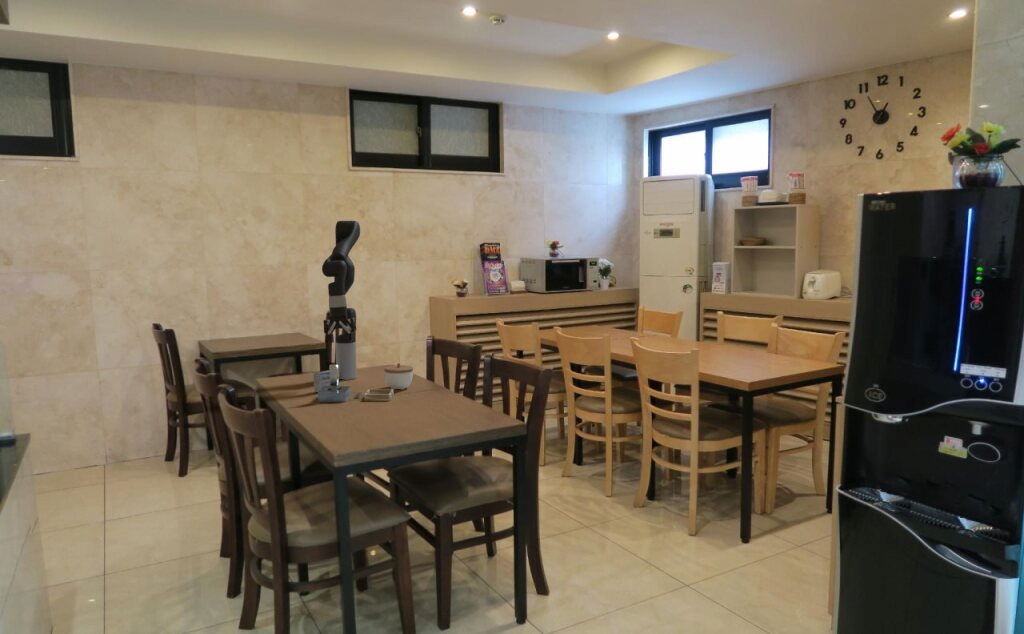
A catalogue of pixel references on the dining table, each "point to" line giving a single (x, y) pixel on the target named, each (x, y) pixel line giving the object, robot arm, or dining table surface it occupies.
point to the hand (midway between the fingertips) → (341, 342)
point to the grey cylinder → (334, 377)
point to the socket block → (334, 394)
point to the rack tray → (379, 395)
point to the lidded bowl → (398, 376)
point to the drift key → (358, 395)
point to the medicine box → (321, 380)
